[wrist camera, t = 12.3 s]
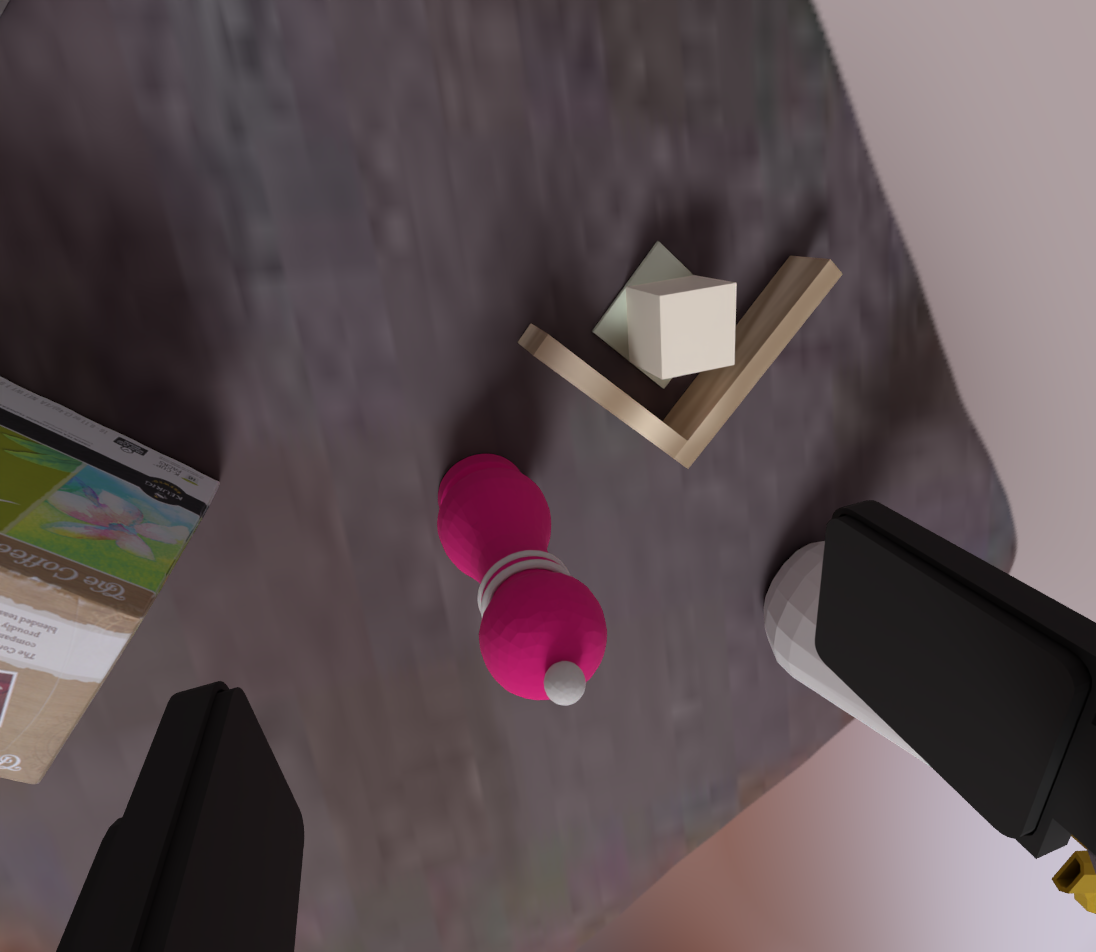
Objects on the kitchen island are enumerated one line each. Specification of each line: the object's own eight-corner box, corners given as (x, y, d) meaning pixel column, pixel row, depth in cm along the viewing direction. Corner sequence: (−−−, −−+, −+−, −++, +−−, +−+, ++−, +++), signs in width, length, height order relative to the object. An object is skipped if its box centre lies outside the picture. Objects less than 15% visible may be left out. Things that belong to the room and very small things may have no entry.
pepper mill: (432, 445, 39) (490, 633, 21) (536, 446, 41) (666, 617, 24) (428, 540, 42) (478, 776, 24) (526, 536, 44) (636, 750, 26)
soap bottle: (773, 505, 50) (1210, 812, 24) (857, 528, 54) (1308, 813, 28) (707, 629, 53) (1027, 1010, 28) (791, 642, 57) (1136, 986, 32)
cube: (625, 286, 38) (659, 296, 34) (694, 275, 39) (736, 282, 35) (629, 362, 40) (662, 380, 36) (694, 349, 41) (734, 365, 37)
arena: (517, 342, 38) (533, 355, 34) (671, 122, 35) (705, 112, 32) (662, 448, 44) (688, 468, 41) (802, 269, 42) (842, 274, 38)
